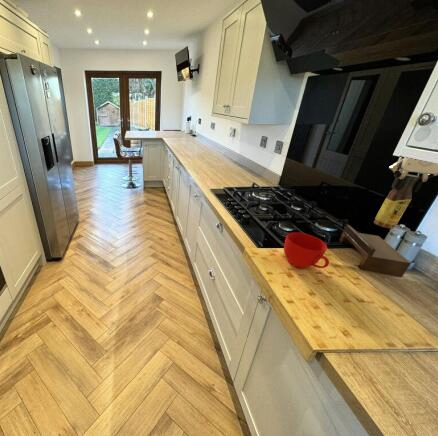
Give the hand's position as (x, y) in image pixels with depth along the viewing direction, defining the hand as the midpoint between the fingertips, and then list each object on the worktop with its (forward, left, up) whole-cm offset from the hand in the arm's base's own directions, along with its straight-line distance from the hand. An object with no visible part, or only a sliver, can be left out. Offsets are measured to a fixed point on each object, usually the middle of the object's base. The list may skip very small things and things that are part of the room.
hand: (403, 189), depth 84 cm
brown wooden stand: (+1, +2, -29) cm, 29 cm away
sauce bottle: (0, 0, -15) cm, 15 cm away
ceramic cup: (+29, +17, -29) cm, 45 cm away
